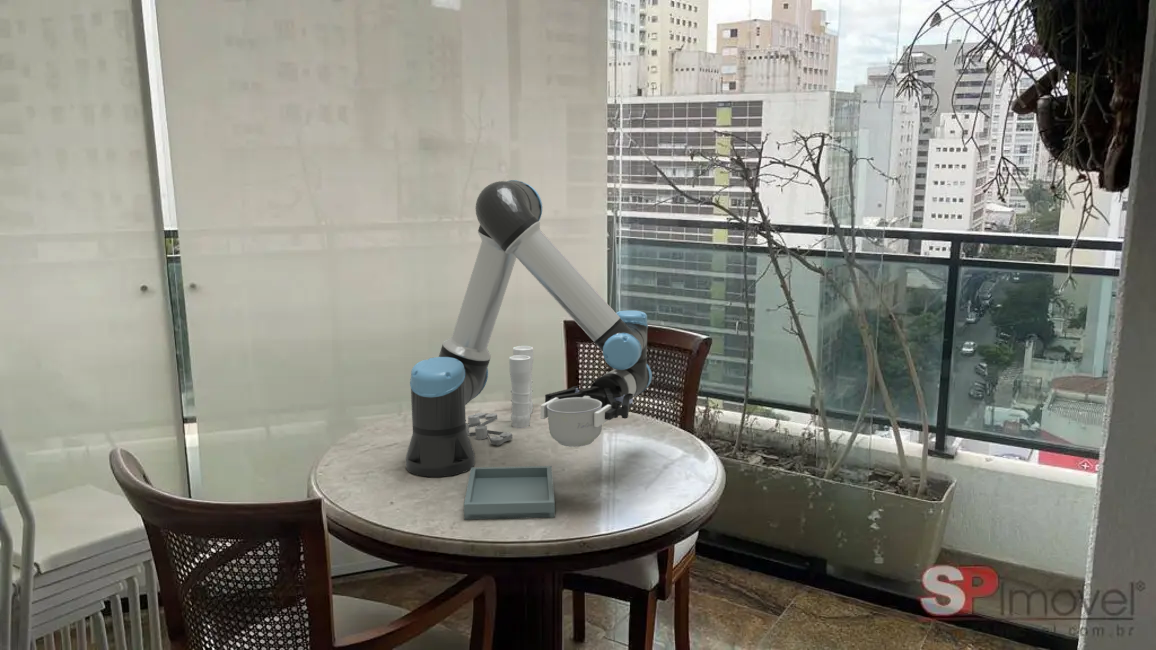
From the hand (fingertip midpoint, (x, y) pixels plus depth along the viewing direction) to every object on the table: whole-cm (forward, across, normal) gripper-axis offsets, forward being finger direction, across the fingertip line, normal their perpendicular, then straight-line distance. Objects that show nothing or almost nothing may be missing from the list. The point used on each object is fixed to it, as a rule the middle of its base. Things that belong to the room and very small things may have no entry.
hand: (568, 416), depth 161 cm
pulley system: (-33, +42, -19) cm, 57 cm away
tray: (+2, +12, -18) cm, 22 cm away
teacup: (-4, 0, -6) cm, 7 cm away
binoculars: (-48, +36, -19) cm, 63 cm away
